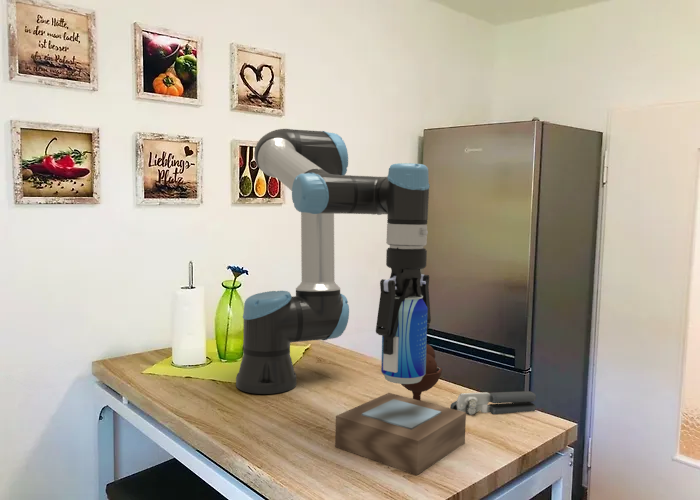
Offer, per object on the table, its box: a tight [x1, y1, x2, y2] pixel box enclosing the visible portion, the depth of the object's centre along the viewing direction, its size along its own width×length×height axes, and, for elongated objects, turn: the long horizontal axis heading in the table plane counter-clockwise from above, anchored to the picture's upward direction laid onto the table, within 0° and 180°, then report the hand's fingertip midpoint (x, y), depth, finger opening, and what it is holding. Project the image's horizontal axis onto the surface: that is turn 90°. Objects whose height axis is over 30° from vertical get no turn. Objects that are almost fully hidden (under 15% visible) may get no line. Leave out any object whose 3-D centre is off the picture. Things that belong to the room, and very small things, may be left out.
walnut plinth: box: [334, 392, 467, 476], centre depth 111 cm, size 18×18×6 cm
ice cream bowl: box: [400, 343, 443, 401], centre depth 130 cm, size 11×11×15 cm
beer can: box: [380, 294, 428, 385], centre depth 109 cm, size 8×8×16 cm
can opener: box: [449, 390, 537, 416], centre depth 130 cm, size 19×6×5 cm, turn 99°
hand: (403, 365), depth 110 cm, fingers closed on beer can, 8 cm apart
